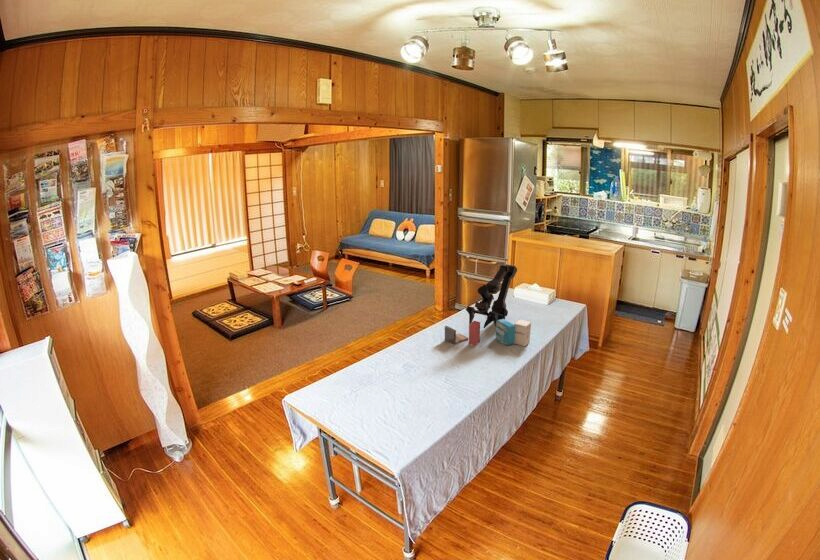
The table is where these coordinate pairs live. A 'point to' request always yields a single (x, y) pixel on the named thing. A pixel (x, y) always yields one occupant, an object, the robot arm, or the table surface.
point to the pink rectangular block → (474, 333)
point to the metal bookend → (450, 335)
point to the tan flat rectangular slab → (460, 338)
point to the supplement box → (522, 332)
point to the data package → (505, 331)
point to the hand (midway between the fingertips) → (476, 326)
